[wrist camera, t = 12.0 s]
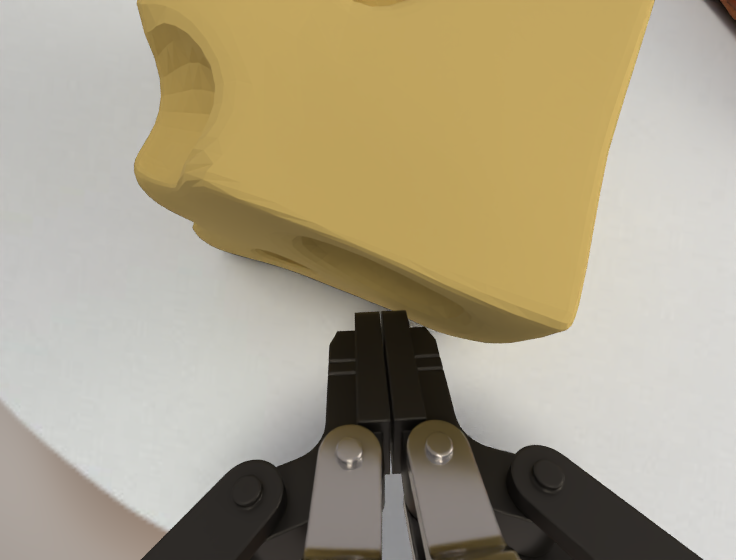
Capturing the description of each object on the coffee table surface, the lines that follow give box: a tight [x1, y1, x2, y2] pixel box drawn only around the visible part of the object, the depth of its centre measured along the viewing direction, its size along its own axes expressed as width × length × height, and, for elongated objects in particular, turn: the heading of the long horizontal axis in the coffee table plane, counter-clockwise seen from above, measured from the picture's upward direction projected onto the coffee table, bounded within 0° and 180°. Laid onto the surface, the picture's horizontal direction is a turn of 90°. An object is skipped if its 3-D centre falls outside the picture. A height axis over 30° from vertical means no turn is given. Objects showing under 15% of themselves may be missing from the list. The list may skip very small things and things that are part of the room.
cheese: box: [134, 0, 655, 343], centre depth 12 cm, size 10×11×10 cm
